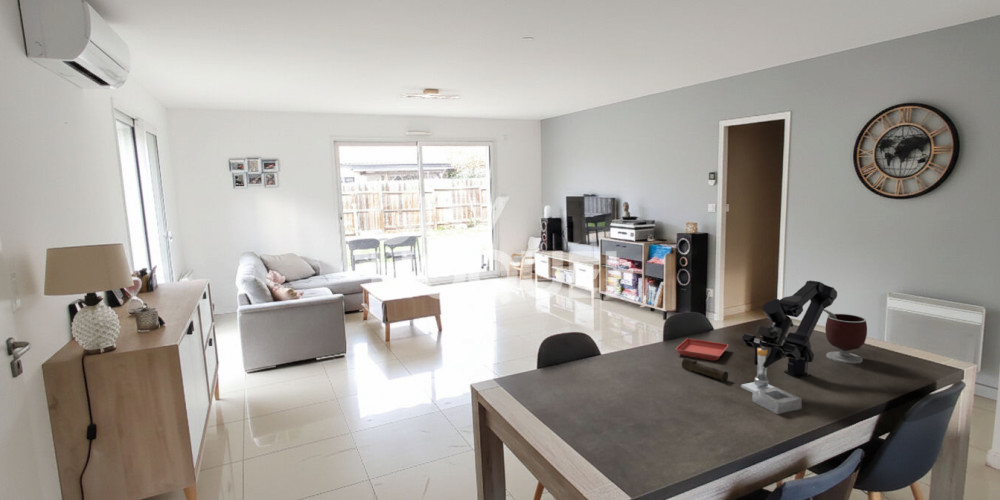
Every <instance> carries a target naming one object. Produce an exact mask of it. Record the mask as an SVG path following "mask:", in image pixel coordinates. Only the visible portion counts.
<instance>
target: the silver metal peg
mask: <svg viewBox="0 0 1000 500" xmlns="http://www.w3.org/2000/svg"><path fill="white" fill-rule="evenodd" d="M757 354H758V359H757V365H756V376H755V377H754V381H753V382H754V384H755V385H757V386H762V387H766V386H768V384H769V381H770V380H769V378H768V377H767V376H768V375H767V374H768V373H767V371H768V367H767V368H764V364H765V362H766V360H767V358H768V356H769V355H768V354H769V348H767V347H764V348H763V347H759V348H758V350H757ZM769 385H770V384H769Z"/></svg>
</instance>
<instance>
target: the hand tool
mask: <svg viewBox="0 0 1000 500" xmlns="http://www.w3.org/2000/svg"><path fill="white" fill-rule="evenodd" d="M681 367H682V368H683V369H685V370H687V371H689V372H691V373H692V372H693V373H694V372H697V373H700V374H702V375H705V376H708V377H711V378H713V379H715V380H719V381H721V383H724V382H726V381H728V377H729V372H728V371H727V370H725V371H723V370H720V369H718V368H715V367H710V366H709V365H708V366H707V365H705V364H702V363H699V362H698V361H697V360H694V359H691V357H690V358H688V357H684V358H683V359H682V361H681Z"/></svg>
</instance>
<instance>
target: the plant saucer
mask: <svg viewBox="0 0 1000 500" xmlns="http://www.w3.org/2000/svg"><path fill="white" fill-rule="evenodd" d="M729 346H730V345H729V344H728V343H722V342H721V343H720V342H714V341H708V340H700V339H694V338H686V339H684V341H683V342H681V343H680V344H679V345H678V346H677V347H676V348H675V351H677V353H678V354H680V355H681V356H684V357H690V358H697V359H700V360H701V359H702V360H708V361H714V362H715V361H718V360H719V359H720V357H721V356H722V355H723V354H724V352H725V351H726V350H727V349H728V347H729Z"/></svg>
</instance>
